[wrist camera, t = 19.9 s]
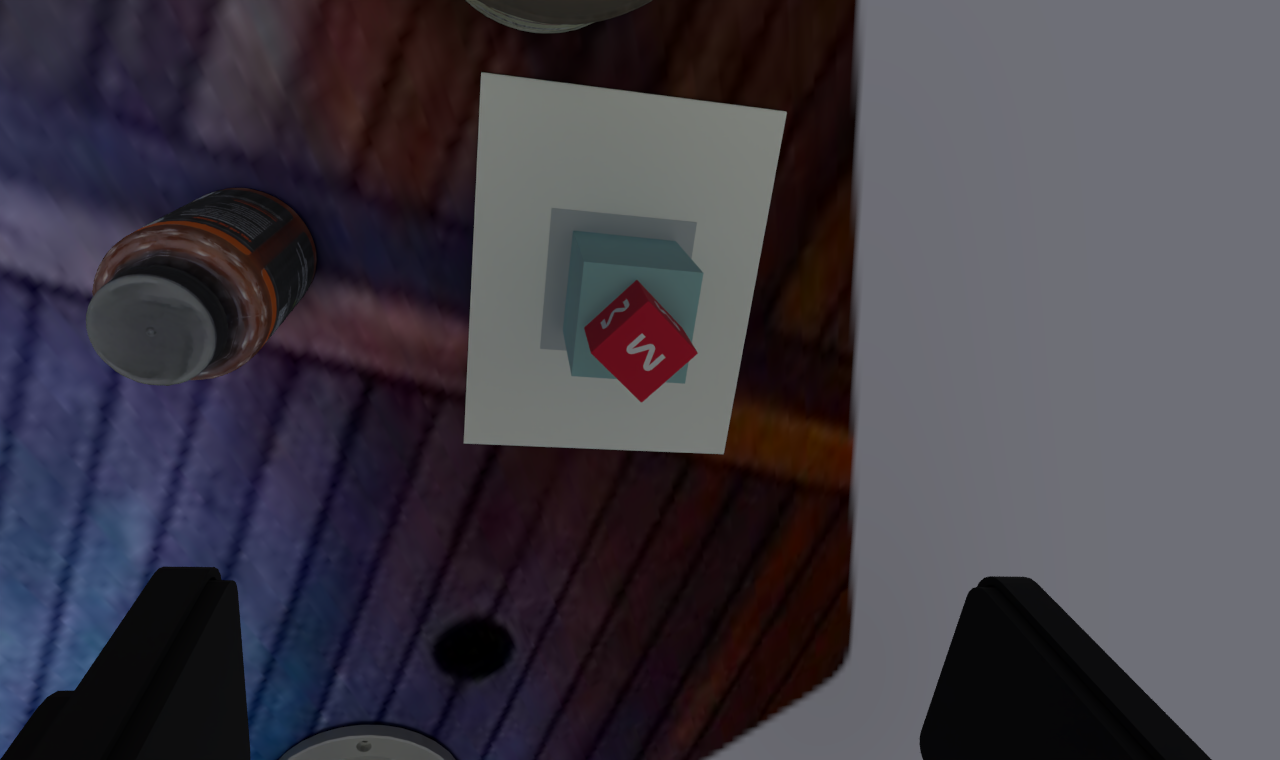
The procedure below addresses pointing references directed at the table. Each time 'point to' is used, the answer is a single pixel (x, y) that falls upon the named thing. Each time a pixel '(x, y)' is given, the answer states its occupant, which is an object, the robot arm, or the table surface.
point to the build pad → (619, 205)
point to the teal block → (609, 271)
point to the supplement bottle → (200, 287)
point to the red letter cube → (639, 341)
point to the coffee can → (553, 12)
